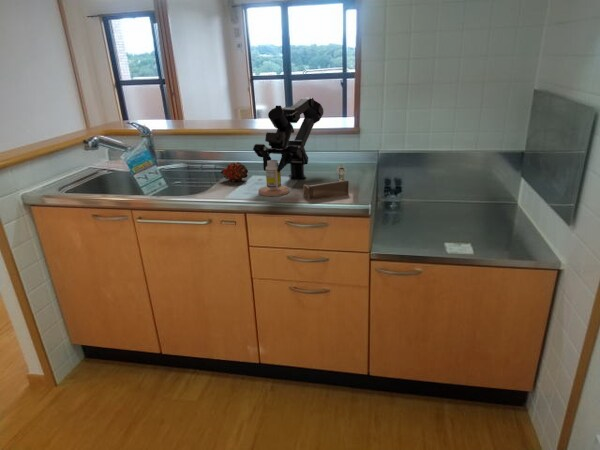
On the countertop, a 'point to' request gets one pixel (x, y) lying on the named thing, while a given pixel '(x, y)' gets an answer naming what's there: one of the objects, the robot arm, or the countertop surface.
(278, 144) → the robot arm
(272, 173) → the supplement bottle
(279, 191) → the terracotta saucer
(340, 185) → the open wooden frame
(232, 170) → the red spiky round lump
